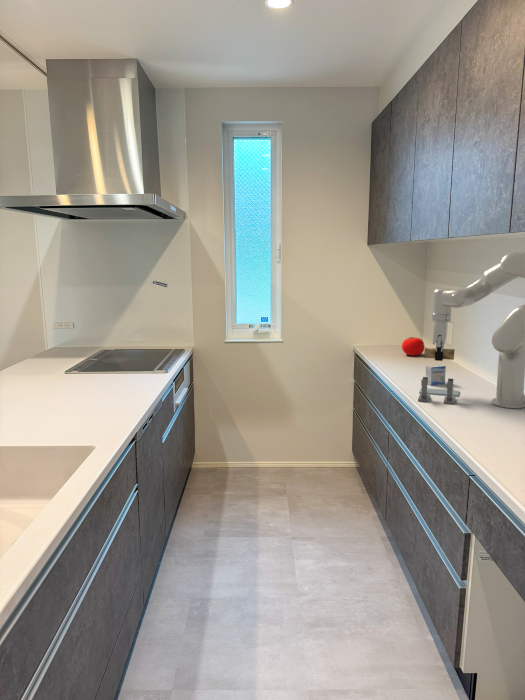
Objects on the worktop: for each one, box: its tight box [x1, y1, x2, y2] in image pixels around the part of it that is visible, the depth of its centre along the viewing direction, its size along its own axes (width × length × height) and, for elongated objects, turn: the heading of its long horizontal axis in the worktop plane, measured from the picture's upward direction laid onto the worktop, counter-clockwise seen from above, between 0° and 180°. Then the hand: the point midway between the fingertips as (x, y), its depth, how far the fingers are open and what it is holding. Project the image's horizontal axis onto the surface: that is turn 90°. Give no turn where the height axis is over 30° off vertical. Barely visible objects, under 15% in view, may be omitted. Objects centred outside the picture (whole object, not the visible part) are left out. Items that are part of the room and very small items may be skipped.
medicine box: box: [425, 364, 447, 386], centre depth 225 cm, size 8×4×9 cm, turn 105°
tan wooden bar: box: [423, 347, 455, 360], centre depth 208 cm, size 12×3×4 cm, turn 66°
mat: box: [418, 387, 460, 397], centre depth 210 cm, size 16×8×1 cm, turn 66°
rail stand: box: [417, 376, 456, 405], centre depth 198 cm, size 14×8×9 cm, turn 66°
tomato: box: [401, 336, 425, 357], centre depth 295 cm, size 12×14×11 cm
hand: (439, 359), depth 208 cm, fingers closed on tan wooden bar, 3 cm apart
